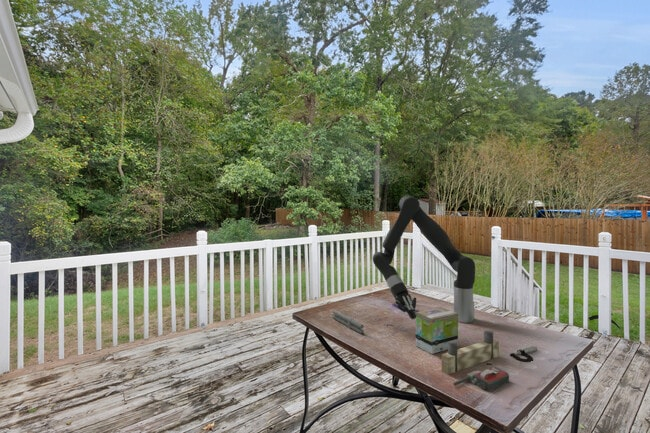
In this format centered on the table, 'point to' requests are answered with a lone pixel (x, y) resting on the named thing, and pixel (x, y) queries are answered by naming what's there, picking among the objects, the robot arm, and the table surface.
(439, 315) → the tea box
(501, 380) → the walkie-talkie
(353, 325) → the metal rod assembly
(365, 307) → the table surface
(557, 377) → the table surface
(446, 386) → the table surface
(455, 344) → the bench stop
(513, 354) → the micrometer
